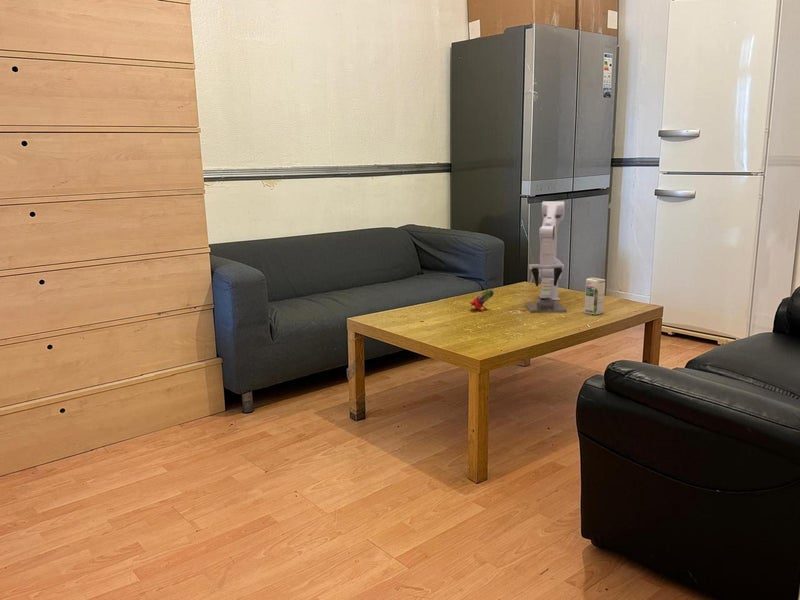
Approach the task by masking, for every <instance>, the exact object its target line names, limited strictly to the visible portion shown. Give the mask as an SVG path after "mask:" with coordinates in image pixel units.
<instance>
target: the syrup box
mask: <svg viewBox="0 0 800 600" xmlns="http://www.w3.org/2000/svg"><path fill="white" fill-rule="evenodd" d="M605 289H606V279H602V278H597V277H589V278H586V280H585V293H584V294H585V295H584V296H585V297H584V312H583V313H584V314H587V313H588V314H589V315H592V314H593V315H592V316H598V315H597V314H599V315H601V313H602V314H604V310H605V309H604V308H605V307H604V306H605V295H606V293H605V291H606V290H605ZM588 314H587V315H588Z"/></svg>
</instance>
